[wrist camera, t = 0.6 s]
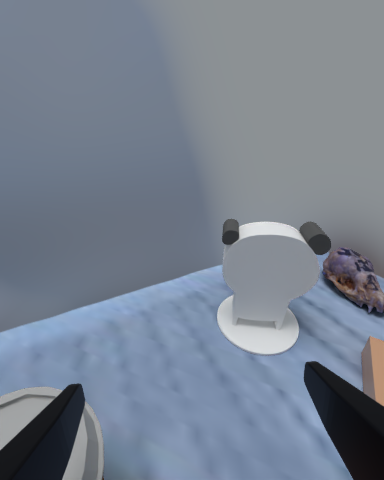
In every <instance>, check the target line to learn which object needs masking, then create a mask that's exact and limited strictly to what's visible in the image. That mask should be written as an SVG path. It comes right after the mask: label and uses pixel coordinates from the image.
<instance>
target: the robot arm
mask: <svg viewBox="0 0 384 480" xmlns="http://www.w3.org/2000/svg"><path fill="white" fill-rule="evenodd" d="M304 382H305V385H306V387H307V390H308V392H309V394H310V396H311V398H312V401H313V403H314V405H315V407H316V410H317V412H318V414H319V416H320V418H321V421H322V423H323V425H324V427H325V429H326V431H327V433H328V435H329V436H330V438H331V440H332V442H333V444H334V445H335V447H336V449H337V451H338V453H339V454H340V456H341V458H342V460H343V462H344V463H345V465H346V467H347V469H348V471H349V472H350V474H351V476H352V478H353V480H384V406H383V405H381V404H380V403H378V402H377V401H375V400H374V399H372V398H371V397H369V396H368V395H366V394H365V393H363V392H362V391H360V390H359V389H357V388H356V387H354V386H353V385H351V384H350V383H348V382H347V381H345V380H344V379H342V378H341V377H339V376H338V375H336V374H335V373H333V372H332V371H330V370H329V369H327V368H326V367H324V366H323V365H321V364H320V363H318V362H316V361H312V362H306V363H305V370H304ZM84 406H85V397H84V392H83V388H82V385H81V384H71V385H69V386H67V387H66V388H65V389H64V390H63V391H62V392H61V393H60V394H59V395H58V396H57V397H56V398H55V399H54V400H53V401H52V402H51V403H49V404H48V405H47V406H46V407H45V408H44V409H43V410H42V411H41V412H40V413H39V414H38V415H37V416H36V417H35V418H34V419H33V420H32V421H30V422H29V423H28V424H27V425H26V426H25V427H24V428H23V429H22V430H21V431H20V432H19V433H18V434H17V435H16V436H15V437H14V438H13V439H11V440H10V441H9V442H8V443H7V444H6V445H5V446H4V447H3V448H2V449H1V450H0V480H62V479H63V476H64V473H65V471H66V468H67V465H68V462H69V459H70V457H71V453H72V450H73V446H74V443H75V439H76V436H77V432H78V428H79V425H80V421H81V417H82V414H83V410H84Z"/></svg>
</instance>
